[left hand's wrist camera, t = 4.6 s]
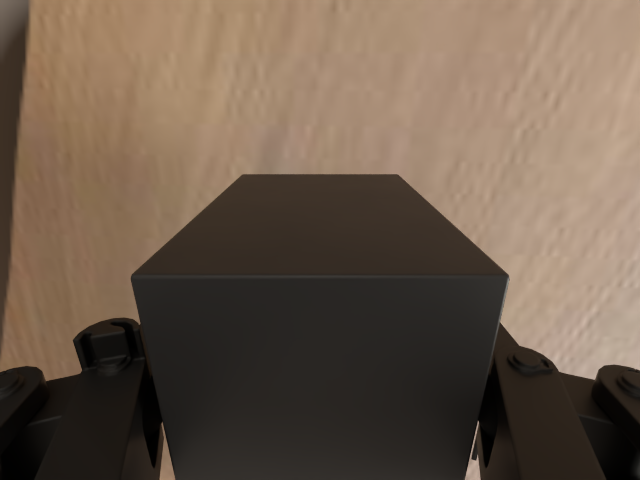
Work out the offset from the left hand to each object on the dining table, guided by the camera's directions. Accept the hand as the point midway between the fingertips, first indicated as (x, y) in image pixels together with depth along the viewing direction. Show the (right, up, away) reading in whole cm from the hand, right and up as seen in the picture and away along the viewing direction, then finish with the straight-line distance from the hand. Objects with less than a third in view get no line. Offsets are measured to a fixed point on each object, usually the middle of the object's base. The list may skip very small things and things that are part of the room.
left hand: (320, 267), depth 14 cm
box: (0, -7, +3) cm, 8 cm away
